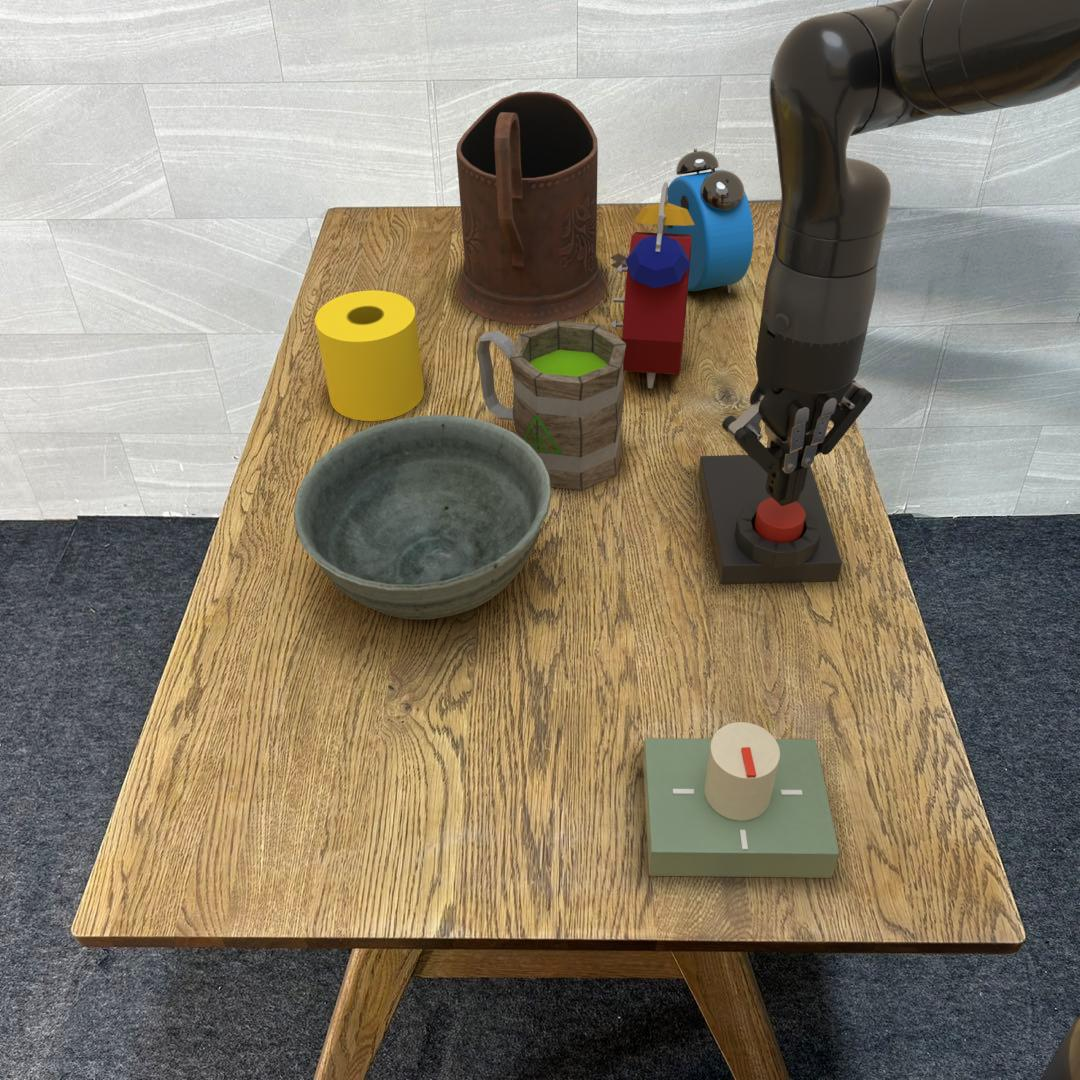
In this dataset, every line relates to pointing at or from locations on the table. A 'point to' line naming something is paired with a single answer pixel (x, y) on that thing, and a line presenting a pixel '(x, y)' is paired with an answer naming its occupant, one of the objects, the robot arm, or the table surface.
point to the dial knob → (741, 771)
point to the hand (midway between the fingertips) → (782, 498)
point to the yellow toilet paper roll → (370, 354)
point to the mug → (563, 397)
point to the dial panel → (729, 845)
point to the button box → (737, 545)
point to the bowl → (424, 514)
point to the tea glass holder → (529, 211)
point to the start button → (779, 521)
